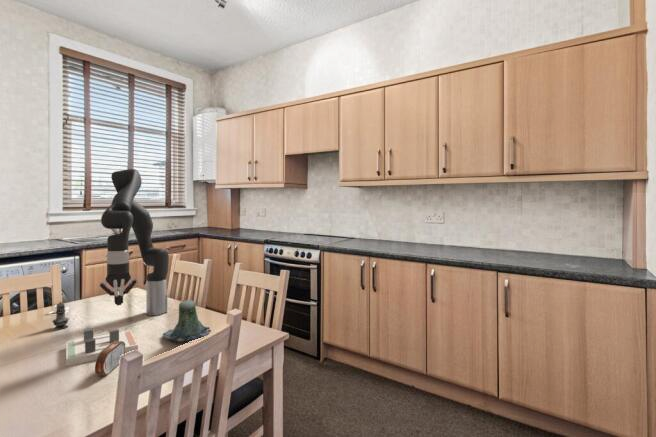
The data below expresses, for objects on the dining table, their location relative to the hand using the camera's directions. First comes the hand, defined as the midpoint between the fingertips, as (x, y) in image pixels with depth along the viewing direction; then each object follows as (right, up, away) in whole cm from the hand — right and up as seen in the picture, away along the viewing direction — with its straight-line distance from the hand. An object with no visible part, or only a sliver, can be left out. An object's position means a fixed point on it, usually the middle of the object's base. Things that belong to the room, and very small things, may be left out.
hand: (118, 304), depth 136 cm
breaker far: (-11, -14, -1) cm, 18 cm away
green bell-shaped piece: (+22, -17, +12) cm, 30 cm away
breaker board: (-5, -17, -3) cm, 18 cm away
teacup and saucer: (-51, -14, +39) cm, 65 cm away
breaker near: (-4, -14, -10) cm, 18 cm away
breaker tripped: (-1, -14, -1) cm, 14 cm away
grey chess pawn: (-37, -15, +18) cm, 44 cm away
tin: (+8, -18, -18) cm, 26 cm away
